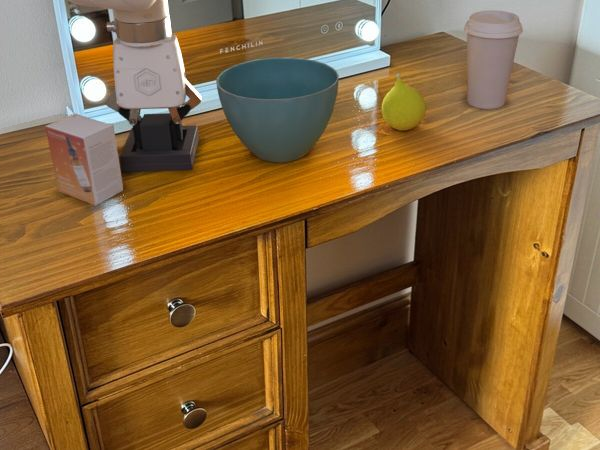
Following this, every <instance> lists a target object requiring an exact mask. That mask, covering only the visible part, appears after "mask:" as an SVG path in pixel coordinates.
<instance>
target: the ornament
mask: <svg viewBox="0 0 600 450" xmlns="http://www.w3.org/2000/svg"><path fill="white" fill-rule="evenodd" d="M396 68H397V70H399V69H398V65H397V66H396ZM395 75H396V82H395V84H394V85H393V87H391V89H390V90H389V91H388V92H387V93H386V95H385V96H384V97H383V100H382V103H381V108H380V109H381V115H382V118H383V120H384V121H385V123H386V124H387V125H388V126H389V127H391V128H392V129H395V130H398V131H408V130H412V129H415V128H416V127H417V126H418V125H419V124H420V123H421V122H422V121H423V119H424V117H425V114H426V109H427V108H426V101H425V99H424V97H423V95H422V94H421V92H419V91H418V90H417V89H415V88H414V87H412V86H410V85H408V84H406V83H405V82H404V81H403V80H402V79H403V78H402V77H401V73H399V72H398V73H395Z"/></svg>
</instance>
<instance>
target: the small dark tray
mask: <svg viewBox="0 0 600 450" xmlns="http://www.w3.org/2000/svg"><path fill="white" fill-rule="evenodd" d="M198 127H199V126H198V125H197V124H196V125H195V124H194V125H182V132H183V140H182V141H180V142H179V145H178V148H173V150H172V151H144V152H143V149H139V143H138V142H135V139H134V133H133V127H131V129H130V131H129V133H128V136H127V138H126V141H125V143H124V146H123V147H122V149H121V150H122V151H121V152H120V155H119V162H120V168H121V173H145V172H146V173H147V172H148V173H149V172H173V171H174V172H175V171H176V172H177V171H193V168H194V164H195V160H196V156H197V151H198V147H199V142H200V138H199V137H200V136H199V128H198Z"/></svg>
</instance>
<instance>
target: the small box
mask: <svg viewBox="0 0 600 450" xmlns="http://www.w3.org/2000/svg"><path fill="white" fill-rule="evenodd" d="M44 127H45V133H46V138H47V142H48V147H49V148H48V149H49V153H50V157H51V158H50V159H51V163H52V167H53V171H54V172H53V173H54V177H55V181H56V187H57V191H58V192H59V193H62V194H63V195H67V196H69V197H72V198H75V199H77V200H80V201H82V202H85V203H88V204H90V205H91V206H94V207H97V206H98V205H100V204H102V203H104V202H106V201H107V200H109V199H111V198H112V197H114V196H116V195H119V194H120V193H122V192H123V191H124V184H123V183H124V182H123V178H122V177H123V176H122V169H121V163H120V156H119V152H118V146H117V139H116V133H115V132H116V131H115V126H114V124H112V123H107V122H103V121H100V120H97V119H93V118H90V117H87V116H83V115H80V114H78V113H76V112H75V113H72V114H70V115H68V116H65V117H63V118H60V119H59V120H56V121H53V122H51V123H49V124H46V125H45V126H44Z"/></svg>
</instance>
